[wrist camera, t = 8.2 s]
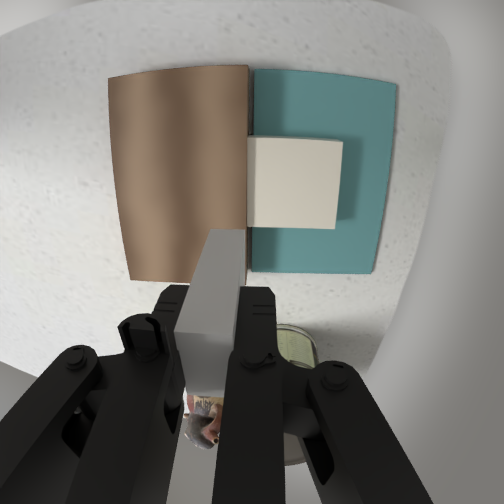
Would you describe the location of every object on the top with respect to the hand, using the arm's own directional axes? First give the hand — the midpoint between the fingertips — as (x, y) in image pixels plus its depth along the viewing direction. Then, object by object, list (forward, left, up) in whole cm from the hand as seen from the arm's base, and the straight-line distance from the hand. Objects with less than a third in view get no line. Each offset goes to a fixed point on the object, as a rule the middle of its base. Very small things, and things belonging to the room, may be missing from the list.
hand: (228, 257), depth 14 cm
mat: (+6, +4, -16) cm, 18 cm away
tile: (+4, +2, -16) cm, 16 cm away
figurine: (+13, -25, -16) cm, 32 cm away
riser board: (-5, -3, -16) cm, 17 cm away
